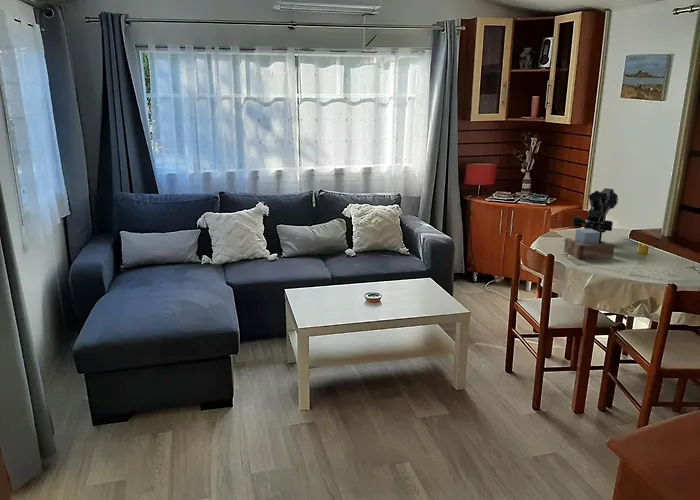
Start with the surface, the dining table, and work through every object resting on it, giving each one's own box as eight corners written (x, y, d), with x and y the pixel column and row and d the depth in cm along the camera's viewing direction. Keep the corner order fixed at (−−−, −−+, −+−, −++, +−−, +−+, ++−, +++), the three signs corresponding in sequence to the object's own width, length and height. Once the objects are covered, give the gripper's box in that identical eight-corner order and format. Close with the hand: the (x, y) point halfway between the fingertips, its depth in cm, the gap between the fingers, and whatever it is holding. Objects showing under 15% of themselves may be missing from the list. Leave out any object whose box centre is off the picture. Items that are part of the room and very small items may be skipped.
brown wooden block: (563, 251, 286) (565, 238, 284) (596, 250, 289) (598, 237, 287) (578, 259, 273) (580, 245, 271) (612, 258, 276) (614, 244, 274)
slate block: (573, 251, 286) (576, 229, 282) (587, 251, 287) (590, 228, 284) (581, 256, 278) (585, 232, 275) (596, 255, 280) (600, 232, 276)
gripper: (576, 201, 292) (569, 226, 286) (615, 205, 283) (609, 231, 277) (576, 213, 301) (570, 237, 295) (614, 218, 292) (608, 243, 286)
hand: (589, 237), depth 288 cm, fingers closed
